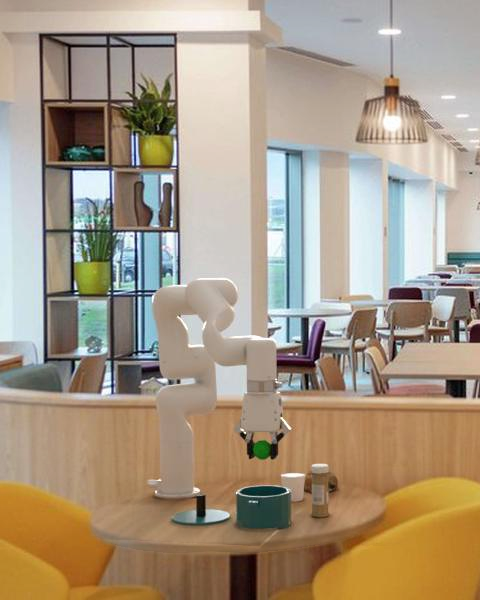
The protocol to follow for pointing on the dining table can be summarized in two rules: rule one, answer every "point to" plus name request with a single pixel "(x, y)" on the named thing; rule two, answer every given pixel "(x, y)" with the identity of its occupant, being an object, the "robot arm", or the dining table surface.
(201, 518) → the lid
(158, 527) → the dining table surface
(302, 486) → the white cup
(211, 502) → the dining table surface
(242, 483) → the dining table surface
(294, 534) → the dining table surface
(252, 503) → the pot
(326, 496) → the spice jar
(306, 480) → the bread roll
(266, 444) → the polyhedron
